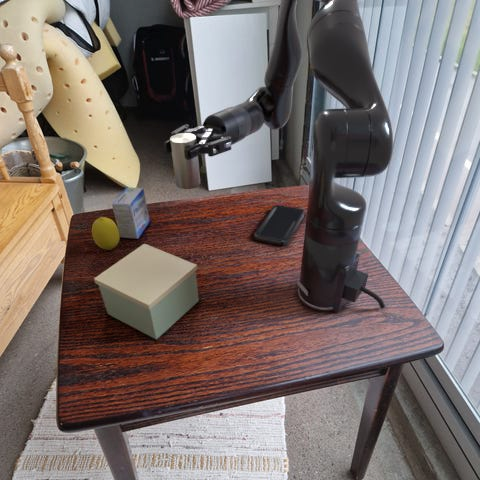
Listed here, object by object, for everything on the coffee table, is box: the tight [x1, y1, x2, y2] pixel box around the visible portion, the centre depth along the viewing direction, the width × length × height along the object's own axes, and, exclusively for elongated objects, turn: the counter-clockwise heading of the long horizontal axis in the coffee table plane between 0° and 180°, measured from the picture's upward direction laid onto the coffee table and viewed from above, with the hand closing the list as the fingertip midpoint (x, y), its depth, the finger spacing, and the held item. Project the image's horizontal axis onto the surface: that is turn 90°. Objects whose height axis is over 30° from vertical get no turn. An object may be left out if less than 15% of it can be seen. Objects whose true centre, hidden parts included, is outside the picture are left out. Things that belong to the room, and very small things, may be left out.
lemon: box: [91, 216, 121, 251], centre depth 90 cm, size 6×6×8 cm
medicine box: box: [111, 186, 151, 240], centre depth 95 cm, size 8×4×9 cm, turn 168°
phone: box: [253, 204, 305, 247], centre depth 98 cm, size 8×1×15 cm
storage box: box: [93, 243, 200, 340], centre depth 76 cm, size 13×13×8 cm
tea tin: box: [169, 133, 201, 190], centre depth 90 cm, size 5×5×10 cm
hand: (175, 151), depth 87 cm, fingers closed on tea tin, 5 cm apart
